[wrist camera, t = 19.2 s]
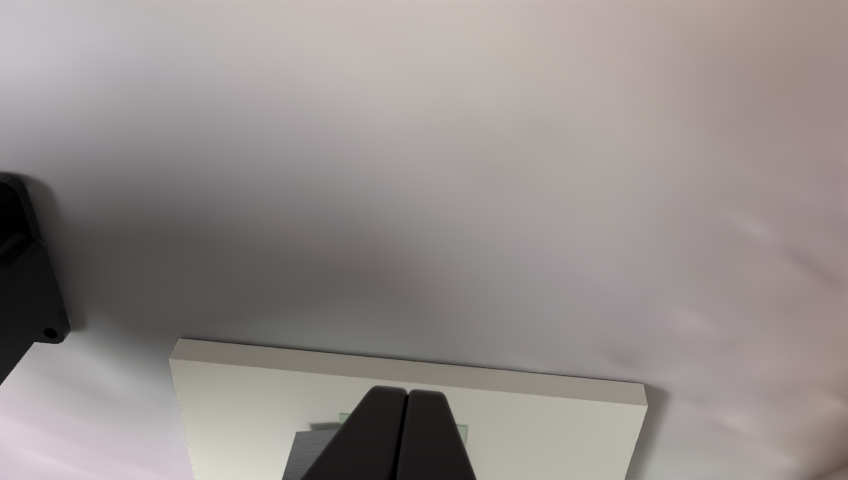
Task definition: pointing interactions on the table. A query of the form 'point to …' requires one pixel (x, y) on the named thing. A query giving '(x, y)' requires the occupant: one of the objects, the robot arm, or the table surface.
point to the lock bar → (305, 452)
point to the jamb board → (463, 387)
